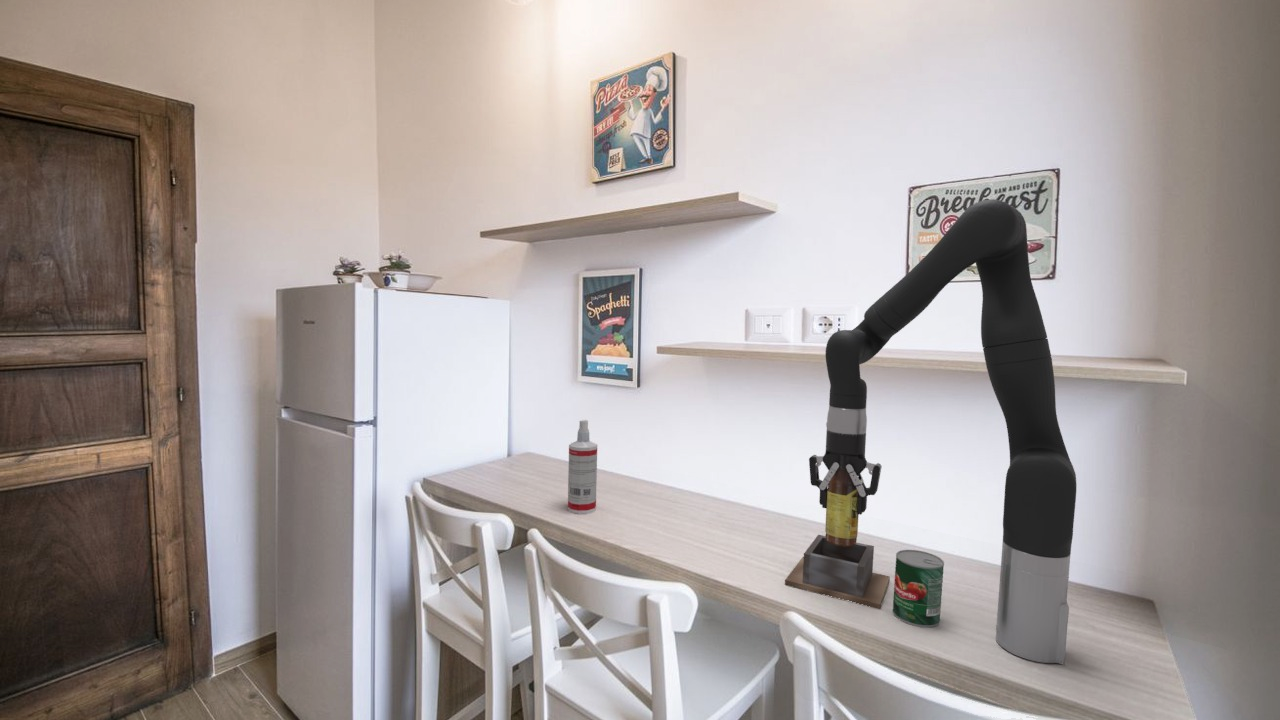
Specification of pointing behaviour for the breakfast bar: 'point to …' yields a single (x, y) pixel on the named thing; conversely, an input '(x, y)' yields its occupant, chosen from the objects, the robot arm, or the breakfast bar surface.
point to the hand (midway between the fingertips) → (842, 510)
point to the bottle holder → (840, 573)
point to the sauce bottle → (842, 507)
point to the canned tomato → (918, 588)
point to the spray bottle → (582, 473)
